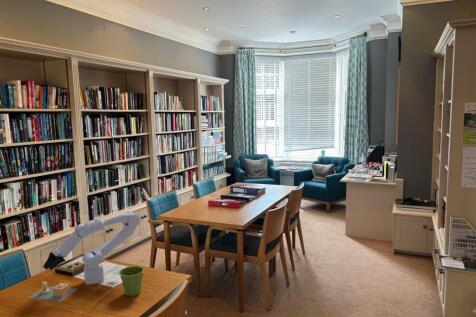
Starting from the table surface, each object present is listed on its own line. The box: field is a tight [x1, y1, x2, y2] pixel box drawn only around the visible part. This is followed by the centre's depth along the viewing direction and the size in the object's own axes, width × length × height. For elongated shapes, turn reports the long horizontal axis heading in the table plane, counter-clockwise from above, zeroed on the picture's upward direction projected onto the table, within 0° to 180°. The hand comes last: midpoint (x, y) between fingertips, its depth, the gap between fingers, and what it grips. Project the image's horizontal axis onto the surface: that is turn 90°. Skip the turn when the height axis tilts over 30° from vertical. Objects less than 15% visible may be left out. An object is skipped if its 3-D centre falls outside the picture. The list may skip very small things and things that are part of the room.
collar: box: [53, 282, 71, 297], centre depth 165 cm, size 5×5×4 cm
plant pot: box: [118, 265, 145, 297], centre depth 168 cm, size 12×12×11 cm
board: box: [27, 281, 78, 302], centre depth 166 cm, size 18×12×6 cm, turn 78°
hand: (47, 268), depth 165 cm, fingers open, 7 cm apart
